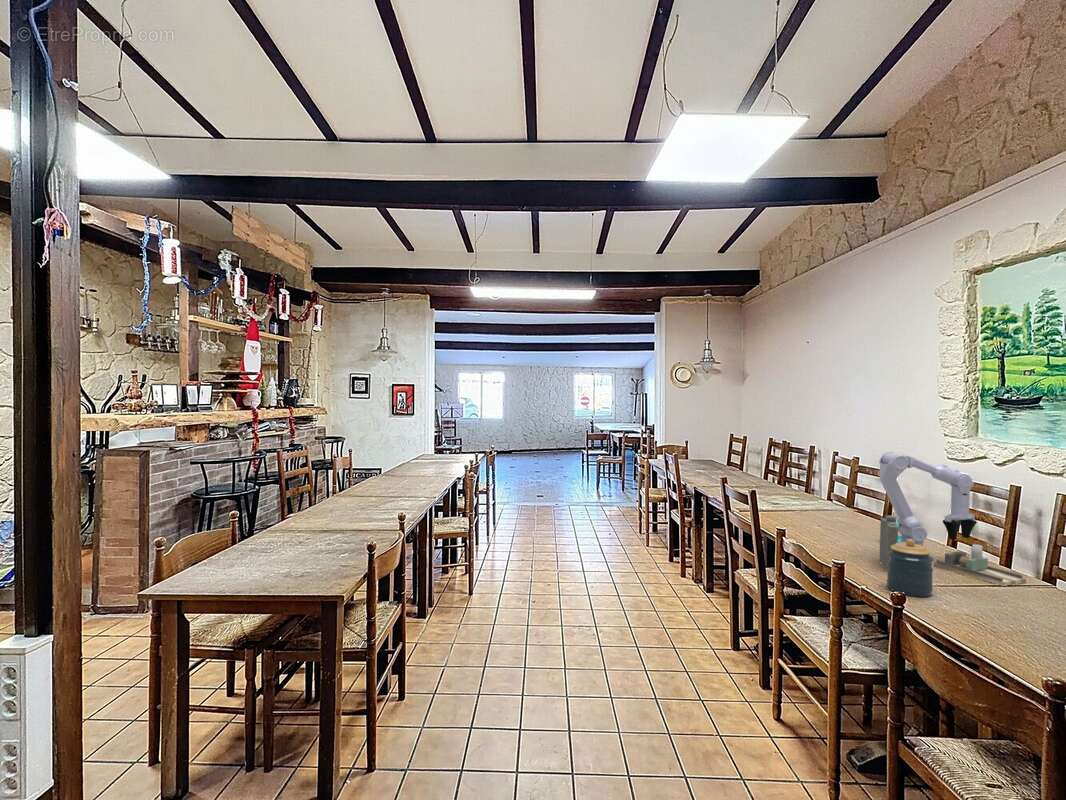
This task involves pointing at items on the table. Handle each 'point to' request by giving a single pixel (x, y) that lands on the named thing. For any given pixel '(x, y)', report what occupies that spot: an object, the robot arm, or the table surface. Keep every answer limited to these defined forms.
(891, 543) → the hip flask
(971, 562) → the sliding jaw
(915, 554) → the canister
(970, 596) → the table surface
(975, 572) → the base
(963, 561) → the walnut
